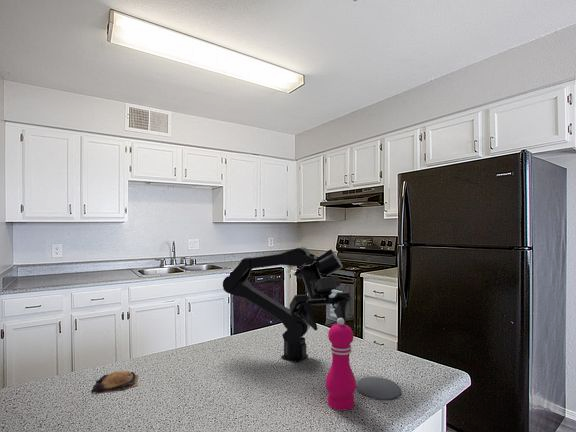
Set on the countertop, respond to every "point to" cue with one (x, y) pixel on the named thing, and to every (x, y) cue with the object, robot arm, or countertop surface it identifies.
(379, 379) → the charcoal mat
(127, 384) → the brown oval lump
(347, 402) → the pepper mill
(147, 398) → the countertop surface
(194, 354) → the countertop surface
